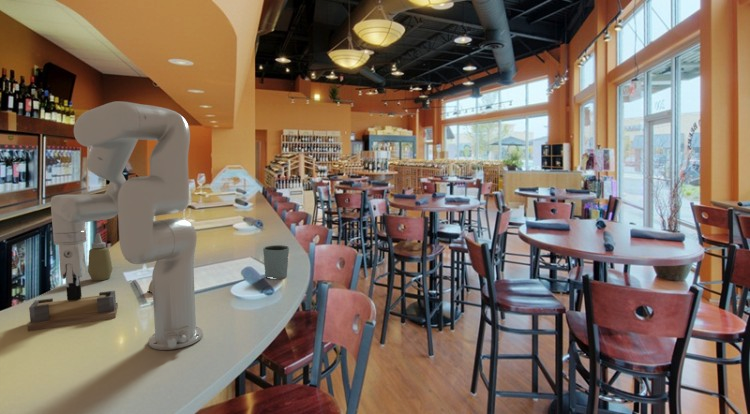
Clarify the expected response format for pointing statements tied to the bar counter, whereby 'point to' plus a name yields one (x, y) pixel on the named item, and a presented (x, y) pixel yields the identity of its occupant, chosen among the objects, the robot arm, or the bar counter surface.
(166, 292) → the robot arm
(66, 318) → the cradle board
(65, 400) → the bar counter surface
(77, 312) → the oak slat
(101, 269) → the squeeze bottle
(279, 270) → the grey green cup
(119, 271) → the bar counter surface
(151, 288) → the decorative ornament
